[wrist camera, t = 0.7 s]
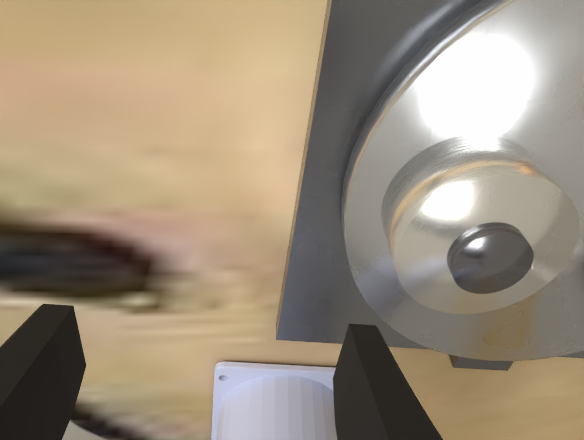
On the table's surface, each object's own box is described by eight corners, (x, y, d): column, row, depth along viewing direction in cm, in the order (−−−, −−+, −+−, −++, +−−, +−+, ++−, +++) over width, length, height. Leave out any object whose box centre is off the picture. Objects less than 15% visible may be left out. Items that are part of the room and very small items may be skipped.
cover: (503, 269, 19) (539, 332, 16) (365, 258, 18) (380, 321, 16) (569, 143, 15) (629, 197, 13) (404, 125, 15) (431, 178, 12)
